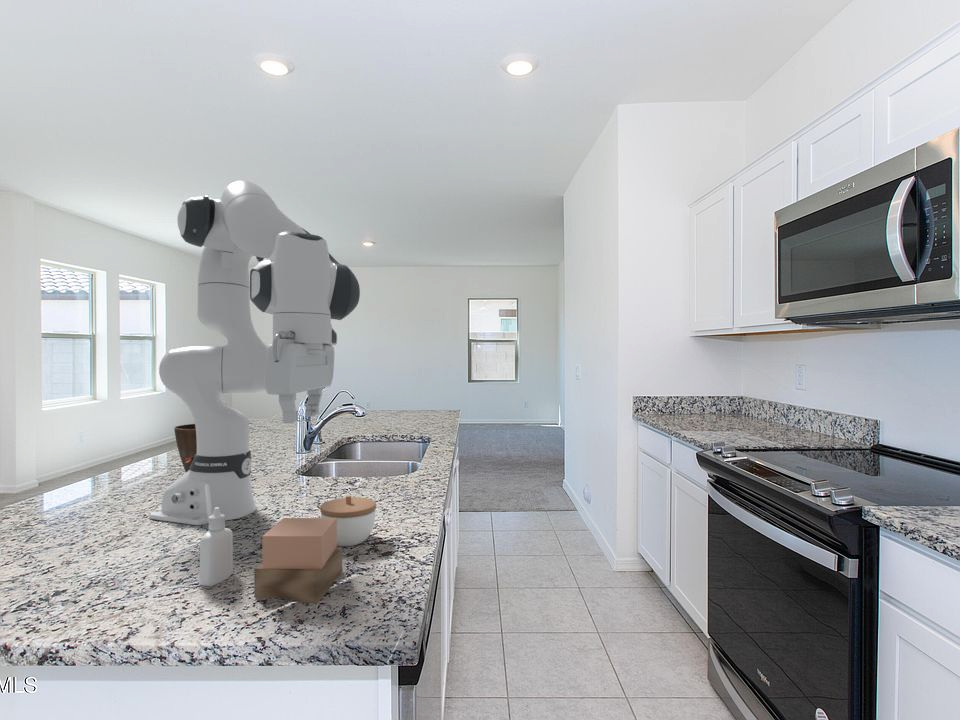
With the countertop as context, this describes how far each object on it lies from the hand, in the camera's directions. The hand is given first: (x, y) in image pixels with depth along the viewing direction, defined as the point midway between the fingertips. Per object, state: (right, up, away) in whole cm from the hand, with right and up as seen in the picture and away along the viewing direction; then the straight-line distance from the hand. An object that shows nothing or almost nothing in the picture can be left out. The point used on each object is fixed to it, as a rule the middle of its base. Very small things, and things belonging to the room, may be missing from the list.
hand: (301, 419), depth 85 cm
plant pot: (-54, -26, +73) cm, 94 cm away
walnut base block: (0, -27, 0) cm, 27 cm away
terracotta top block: (0, -22, 0) cm, 22 cm away
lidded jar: (+3, -27, +20) cm, 34 cm away
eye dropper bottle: (-15, -27, +2) cm, 31 cm away
